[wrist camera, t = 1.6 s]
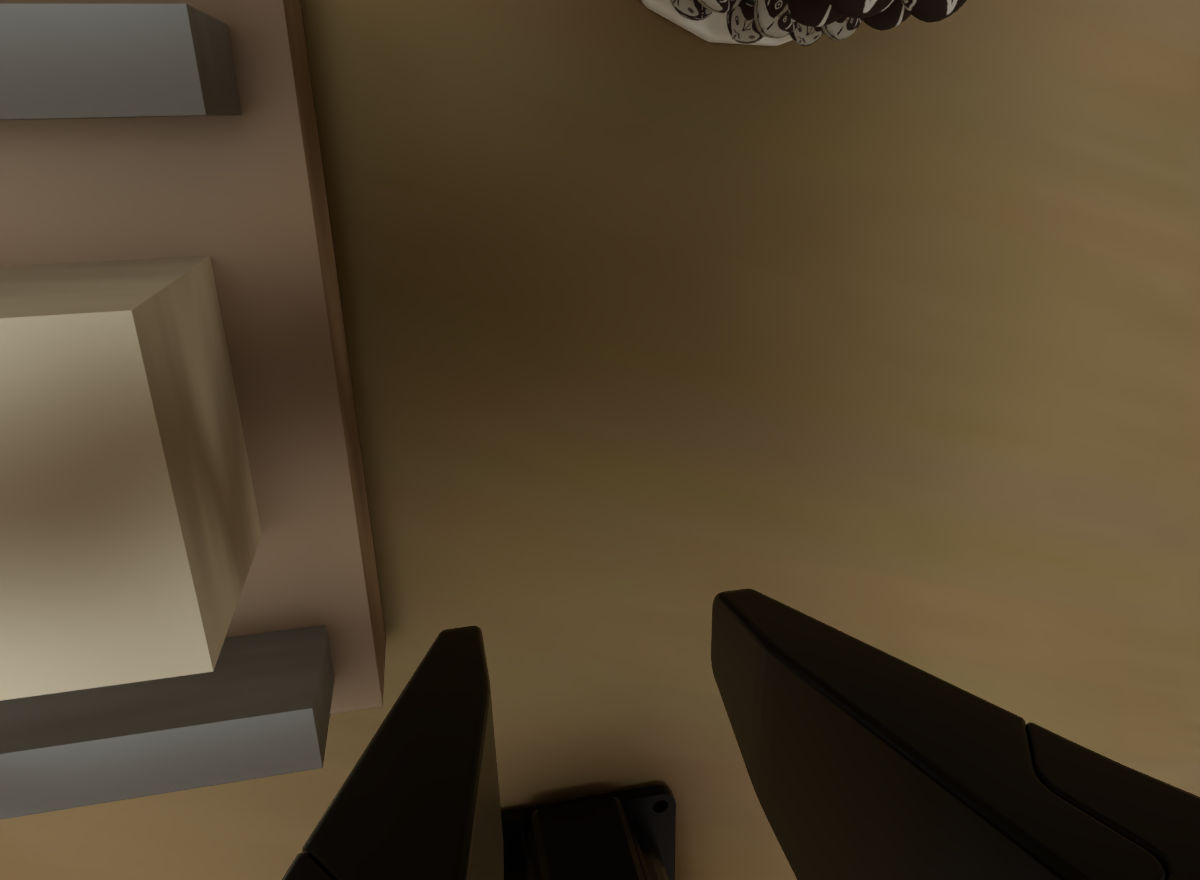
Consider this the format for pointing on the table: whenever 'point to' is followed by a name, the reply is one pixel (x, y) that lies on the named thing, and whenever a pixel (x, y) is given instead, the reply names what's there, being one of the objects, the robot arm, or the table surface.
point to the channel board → (257, 356)
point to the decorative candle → (793, 18)
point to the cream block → (117, 475)
